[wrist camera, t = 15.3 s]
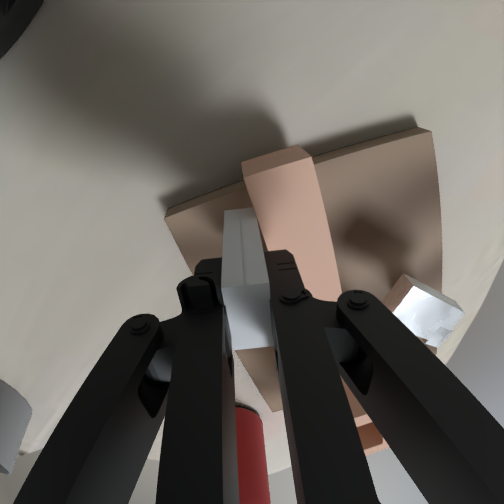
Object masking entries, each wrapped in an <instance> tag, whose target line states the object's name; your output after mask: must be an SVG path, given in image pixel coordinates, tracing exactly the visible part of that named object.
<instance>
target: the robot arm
mask: <svg viewBox="0 0 504 504" xmlns="http://www.w3.org/2000/svg"><path fill="white" fill-rule="evenodd" d="M43 1H44V0H0V59H1V58H2V56H3V55H4V54H5V53H6V52H7V51H8V50H9V49H10V48H11V47H12V45H13V44H14V43H15V42H16V40H17V39H18V38H19V37H20V35H21V34H22V33H23V31H24V30H25V29H26V27H27V26H28V24H29V23H30V21H31V20H32V18H33V17H34V15H35V14H36V12H37V11H38V9H39V7H40V6H41V4H42V2H43ZM177 292H178V296H179V300H180V303H181V307H182V313H181V314H180V315H178V316H176V317H174V318H172V319H169V320H165V321H162V322H159V319H158V318H157V317H156V316H154V315H151V314H139V315H136V316H133V317H131V318H130V319H128V320H127V321H126V322H125V323H124V324H123V325H122V326H121V328H120V329H119V331H118V332H117V333H116V335H115V336H114V338H113V339H112V341H111V342H110V344H109V345H108V347H107V348H106V350H105V351H104V353H103V354H102V356H101V357H100V359H99V360H98V362H97V363H96V365H95V366H94V368H93V369H92V371H91V372H90V374H89V375H88V377H87V378H86V380H85V381H84V383H83V384H82V386H81V388H80V389H79V391H78V392H77V394H76V395H75V397H74V399H73V400H72V402H71V403H70V405H69V407H68V408H67V410H66V411H65V413H64V415H63V416H62V418H61V419H60V421H59V423H58V424H57V426H56V428H55V429H54V431H53V433H52V434H51V436H50V438H49V440H48V441H47V443H46V445H45V446H44V448H43V450H42V452H41V453H40V455H39V457H38V459H37V460H36V462H35V464H34V466H33V467H32V469H31V471H30V473H29V475H28V477H27V478H26V481H25V482H24V484H23V486H22V488H21V490H20V491H19V493H18V495H17V497H16V499H15V501H14V503H13V504H128V502H129V500H130V498H131V495H132V493H133V490H134V488H135V486H136V483H137V481H138V478H139V476H140V473H141V471H142V469H143V466H144V464H145V461H146V459H147V457H148V454H149V452H150V450H151V447H152V445H153V442H154V440H155V438H156V435H157V433H158V431H159V428H160V426H161V424H162V421H163V419H164V416H165V421H164V429H163V437H162V445H161V454H160V463H159V472H158V482H157V483H158V484H157V494H156V504H240V502H239V483H238V462H237V440H236V414H235V386H234V360H233V355H232V349H233V350H241V349H251V348H260V347H269V346H274V350H275V364H276V371H277V373H278V379H279V386H280V392H281V399H282V405H283V412H284V418H285V425H286V432H287V438H288V445H289V451H290V458H291V465H292V471H293V478H294V485H295V492H296V498H297V504H381V503H380V502H379V500H378V497H377V494H376V491H375V487H374V484H373V480H372V477H371V473H370V470H369V466H368V463H367V460H366V456H365V453H364V449H363V446H362V443H361V439H360V436H359V433H358V430H357V426H356V423H355V420H354V417H353V414H352V410H351V407H350V404H349V401H348V398H347V395H346V392H345V389H344V386H343V383H342V380H341V377H342V379H343V380H344V382H345V383H346V384H347V386H348V387H349V389H350V390H351V392H352V393H353V395H354V396H355V397H356V399H357V400H358V402H359V403H360V405H361V406H362V408H363V409H364V410H365V412H366V413H367V415H368V416H369V418H370V419H371V421H372V422H373V423H374V425H375V426H376V428H377V429H378V431H379V432H380V434H381V435H382V436H383V438H384V439H385V441H386V442H387V444H388V445H389V447H390V448H391V449H392V451H393V452H394V454H395V455H396V457H397V458H398V460H399V461H400V463H401V464H402V465H403V467H404V468H405V470H406V471H407V473H408V474H409V476H410V477H411V478H412V480H413V481H414V483H415V484H416V486H417V487H418V489H419V490H420V492H421V493H422V494H423V496H424V497H425V499H426V500H427V502H428V503H429V504H504V429H503V427H502V426H501V425H500V424H499V423H498V422H497V421H496V420H495V418H494V417H493V416H492V415H491V414H490V413H489V412H488V411H487V410H486V408H484V406H483V405H482V404H481V403H480V402H479V401H478V400H477V399H476V397H475V396H473V394H472V393H471V392H470V391H469V390H468V389H467V388H466V387H465V386H464V385H463V384H462V383H461V381H460V380H459V379H458V378H457V377H455V375H454V374H453V373H452V372H451V371H450V370H449V369H448V368H447V367H446V366H445V365H444V364H443V363H442V362H441V361H440V360H439V359H438V358H437V357H436V356H435V355H434V353H433V352H432V351H431V350H430V349H429V348H428V347H427V346H426V345H425V344H424V343H423V342H422V341H421V340H420V339H419V338H418V337H417V336H416V335H415V334H414V333H413V332H412V331H411V330H410V329H409V328H408V327H406V326H405V325H404V324H403V323H402V322H401V321H400V320H399V319H398V318H397V317H396V316H395V315H394V314H393V313H392V312H391V311H390V310H389V309H388V308H387V307H386V306H385V305H384V304H383V303H382V302H381V301H380V300H379V299H378V298H376V297H375V296H374V295H373V294H371V293H370V292H367V291H363V290H349V291H346V292H344V293H342V294H341V295H340V296H339V297H338V299H337V302H334V301H324V300H319V299H316V298H314V297H313V296H312V294H311V293H310V291H309V290H307V289H306V288H305V287H304V284H303V281H302V278H301V275H300V273H299V270H298V267H297V264H296V261H295V259H294V256H293V254H292V253H290V252H289V251H288V250H286V249H283V250H274V251H265V252H263V247H262V242H261V237H260V232H259V227H258V222H257V217H256V213H255V210H254V207H252V208H243V209H234V210H226V211H224V231H223V252H222V257H220V258H211V259H202V260H201V261H200V262H199V263H198V264H197V265H196V266H195V271H194V276H190V277H188V278H186V279H184V280H183V281H181V282H180V283H179V284H178V286H177ZM340 376H341V377H340Z"/></svg>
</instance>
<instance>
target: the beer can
mask: <svg viewBox="0 0 504 504" xmlns="http://www.w3.org/2000/svg"><path fill="white" fill-rule="evenodd" d="M235 414H236V440H237V462H238V483H239V502H240V504H270V493H269V483H268V474H267V464H266V454H265V444H264V434H263V425H262V420H261V419H260V417H259V416H258V415H257V414H256V413H254V412H253V411H251V410H248V409H245V408H242V407H235Z"/></svg>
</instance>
